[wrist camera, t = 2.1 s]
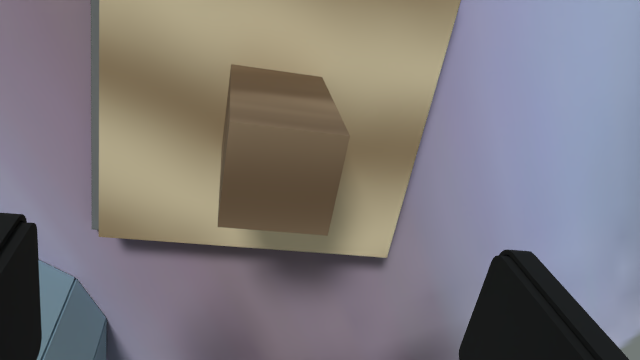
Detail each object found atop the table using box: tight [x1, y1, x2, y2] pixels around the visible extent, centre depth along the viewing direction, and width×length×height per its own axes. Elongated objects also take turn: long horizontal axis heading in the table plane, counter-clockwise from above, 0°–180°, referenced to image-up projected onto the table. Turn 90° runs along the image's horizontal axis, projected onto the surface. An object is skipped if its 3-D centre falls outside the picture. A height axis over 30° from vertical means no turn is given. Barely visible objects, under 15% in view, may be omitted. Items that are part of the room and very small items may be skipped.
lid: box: [99, 0, 461, 258], centre depth 17 cm, size 11×11×6 cm
